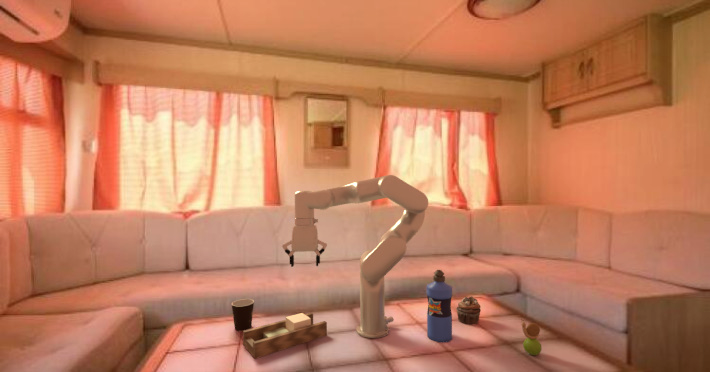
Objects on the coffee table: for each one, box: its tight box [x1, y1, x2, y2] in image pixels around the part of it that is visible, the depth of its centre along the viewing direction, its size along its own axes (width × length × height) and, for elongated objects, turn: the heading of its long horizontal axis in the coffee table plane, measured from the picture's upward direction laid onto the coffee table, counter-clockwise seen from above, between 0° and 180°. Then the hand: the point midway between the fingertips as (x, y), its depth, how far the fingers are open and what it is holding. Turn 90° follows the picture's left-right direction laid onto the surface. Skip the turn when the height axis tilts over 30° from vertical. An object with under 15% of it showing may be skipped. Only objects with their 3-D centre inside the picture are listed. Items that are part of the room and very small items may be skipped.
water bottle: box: [426, 269, 453, 343], centre depth 125 cm, size 9×9×25 cm
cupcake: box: [455, 296, 481, 326], centre depth 139 cm, size 10×10×10 cm
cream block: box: [285, 312, 311, 331], centre depth 126 cm, size 7×7×4 cm
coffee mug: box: [231, 298, 255, 332], centre depth 136 cm, size 12×9×10 cm
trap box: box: [242, 312, 328, 359], centre depth 123 cm, size 28×12×5 cm, turn 127°
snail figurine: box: [520, 318, 543, 356], centre depth 111 cm, size 5×6×12 cm
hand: (304, 265), depth 130 cm, fingers open, 9 cm apart
